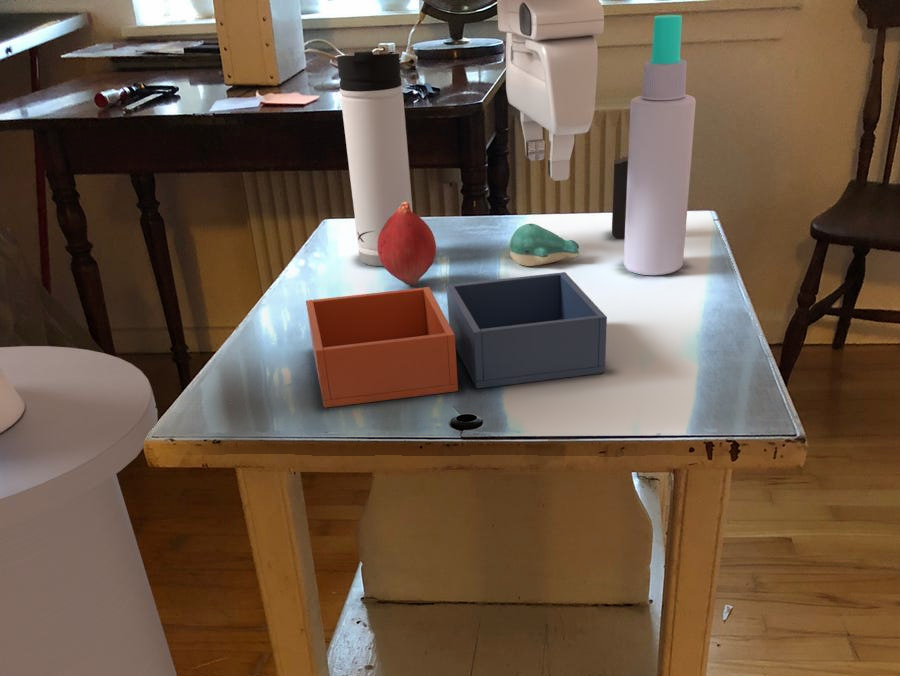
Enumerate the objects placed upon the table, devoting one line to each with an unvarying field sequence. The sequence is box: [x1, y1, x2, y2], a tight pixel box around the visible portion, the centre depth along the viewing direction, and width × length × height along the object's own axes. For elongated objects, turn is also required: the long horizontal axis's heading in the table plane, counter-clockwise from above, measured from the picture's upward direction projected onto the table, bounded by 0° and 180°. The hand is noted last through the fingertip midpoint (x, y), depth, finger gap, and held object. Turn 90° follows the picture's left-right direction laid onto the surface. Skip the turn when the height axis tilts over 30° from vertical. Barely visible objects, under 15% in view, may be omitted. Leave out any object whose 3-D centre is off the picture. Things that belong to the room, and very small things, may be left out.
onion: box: [377, 202, 437, 286], centre depth 97 cm, size 6×6×8 cm
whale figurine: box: [509, 223, 580, 267], centre depth 103 cm, size 6×7×4 cm
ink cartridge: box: [611, 156, 628, 240], centre depth 108 cm, size 5×2×8 cm, turn 84°
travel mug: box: [336, 50, 414, 267], centre depth 101 cm, size 6×7×20 cm
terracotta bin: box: [305, 286, 459, 409], centre depth 80 cm, size 11×12×5 cm
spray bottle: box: [623, 14, 697, 276], centre depth 94 cm, size 6×6×22 cm
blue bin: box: [446, 271, 608, 389], centre depth 82 cm, size 11×12×5 cm
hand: (546, 168), depth 99 cm, fingers open, 8 cm apart
